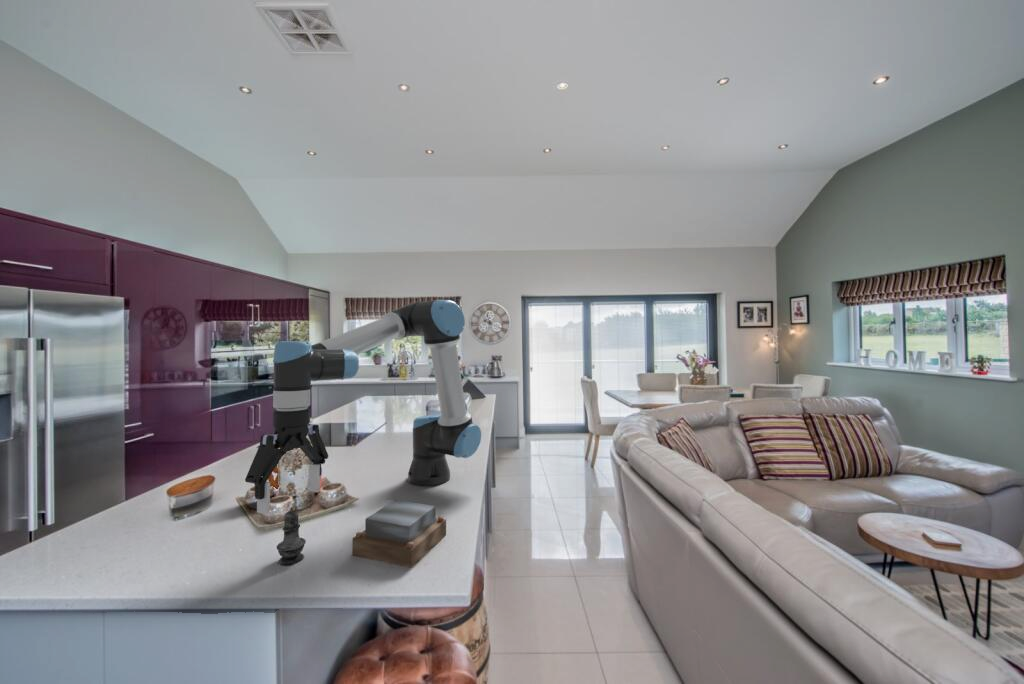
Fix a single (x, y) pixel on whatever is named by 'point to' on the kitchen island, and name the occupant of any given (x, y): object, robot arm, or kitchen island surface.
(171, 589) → the kitchen island surface
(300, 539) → the dark grey tall piece
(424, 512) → the sharpening stone holder
